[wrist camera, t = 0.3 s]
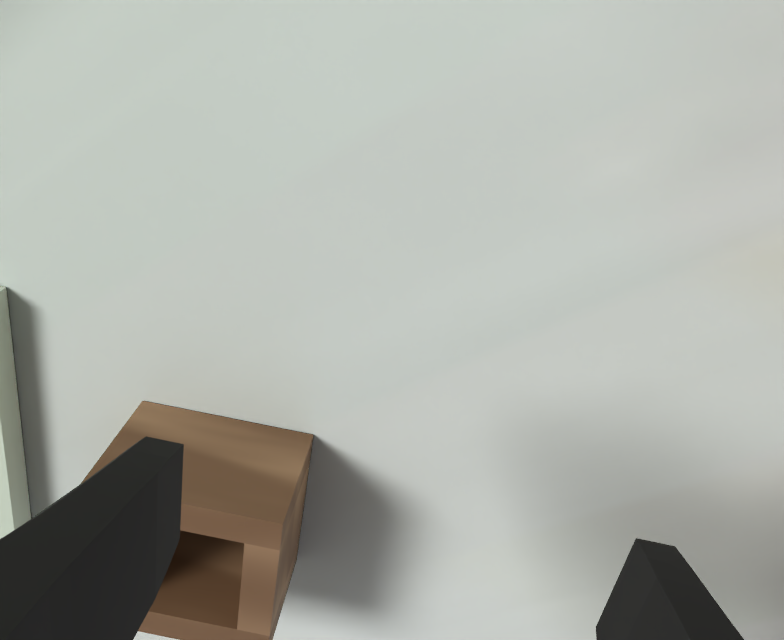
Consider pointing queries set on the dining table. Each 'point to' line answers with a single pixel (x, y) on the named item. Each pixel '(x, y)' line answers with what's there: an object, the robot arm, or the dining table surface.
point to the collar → (225, 522)
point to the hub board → (10, 435)
